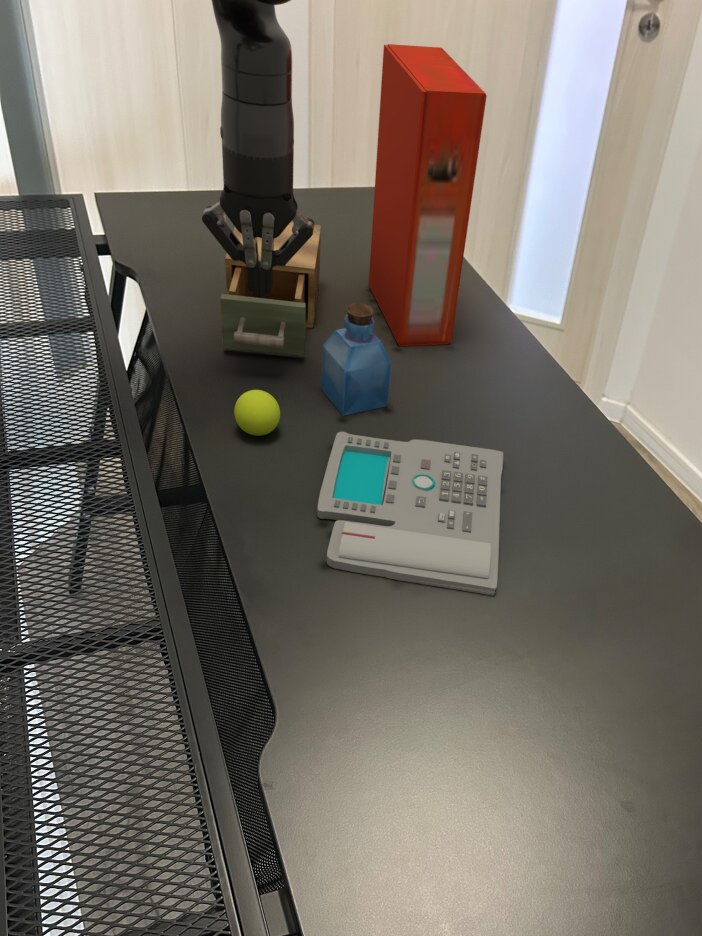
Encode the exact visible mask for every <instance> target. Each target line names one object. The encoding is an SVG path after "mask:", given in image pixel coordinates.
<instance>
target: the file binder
mask: <svg viewBox="0 0 702 936" xmlns="http://www.w3.org/2000/svg"><path fill="white" fill-rule="evenodd" d="M382 51H383V52H382V67H381V68H382V69H381V84H380V98H379V99H380V101H379V116H378V129H377V145H376V162H375V178H374V192H373V193H374V194H373V209H372V210H373V211H372V223H371V225H372V226H371V241H370V255H369V256H370V257H369V273H368V286H369V288H370V291H371V293H372V295H373V297H374V299H375V300H376V303H377V305H378V306H379V309H380V311H381V313H382V315H383V317H384V319H385V321H386V323H387V325H388V327H389V329H390V331H391V333H392V335H393V337H394V339H395V341H396V344H397V345H398V347H419V346H437V345H438V346H439V345H440V346H441V345H448V344H451V343H452V340H453V339H452V338H453V332H454V325H455V319H456V311H457V304H458V298H459V290H460V284H461V278H462V277H461V276H462V270H463V264H464V263H463V262H464V255H465V249H466V241H467V236H468V230H469V229H468V228H469V220H470V214H471V207H472V200H473V194H474V186H475V179H476V174H477V173H476V172H477V165H478V159H479V153H480V152H479V151H480V146H481V145H480V144H481V138H482V130H483V125H484V116H485V112H486V111H485V110H486V103H487V97H488V96H487V93H486V92H485V90H483V89H482V88H481V87H480V86H479V84H478V83H476V82H475V80H473V78H472V77H471V76H470V75H469V74H468V73H467V72H466V71H465V70H464V69H463V68H462V67H461V66H460V65H459V64H458V63H457V62H456V61H455V60H454V59H453V58H452V57H451V56H450V54H449V53H448V52H446V50H445V49H443V47H439V46H425V45H423V46H422V45H409V44H393V43H387V44H383V50H382Z"/></svg>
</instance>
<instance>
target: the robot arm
mask: <svg viewBox="0 0 702 936" xmlns="http://www.w3.org/2000/svg"><path fill="white" fill-rule="evenodd" d="M291 1H292V0H211V6H212V9H213V16H214V19H215V22H216V23H215V24H216V26H217V31H218V35H219V40H220V48H221V49H220V67H221V69H220V71H221V72H220V73H221V106H220V128H219V132H220V139H221V153H222V154H221V156H222V157H221V158H222V178H223V179H222V180H223V182H222V183H223V189H222V191H221V193H220V196H219V199H218V200H219V201H218V202H216V203H215V204H214V205H207V206H206V207H205V209H204V210H203V213H202V217H201V222H202V223H203V224H204V225H205V227H206V228H207V229H208V230H209V232H210V233H211V234H212V236H213V238H215V240H216V241H217V242H218V243H219V245H220V246H221V247H222V249H223V250H224V251H225V252H226V254H228V255H229V256H230V257H231V259H232V260H234V261H238V260H240V261H242V262H244V263H245V264H246V266H247V287H248V290H249V291H250V292H253V297H260V298H266V294H270V292H271V290H272V286H273V267H274V266H277V265H279V266H285V265H286V264H287V263H288V261H289V260H290V259H291V258H292V257H293V256H294V255H295V254H296V253H297V252H298V251H299V250H300V248H301V247H302V246H303V245H304V244H305V243H306V242H307V241H308V240H309V239H310V238H311V237H312V235H313V231H314V225H315V221H314V219H312V218H309V217H308V218H306V217H305V216H304V215H303V214H302V213H301V212H300V211H299V210H298V203H297V200H296V198H295V196H294V161H295V160H294V159H295V158H294V155H295V154H294V153H295V152H294V151H295V148H294V147H295V120H294V119H295V116H294V108H293V50H292V44H291V41H290V38H289V37H288V35H287V34H286V32H285V31H284V30H283V28H282V26H281V25H280V23H279V21H278V18H277V13H276V6H280V5H284V4H287V3H289V2H291ZM227 218H228V219H229V221H230V222H231V224H232V225H233V227H234V228H235V227H236V229H237V230H238V231H239V232H240V233H241V234H242V238H243V245H242V243H241V242H240V241H239V240H238V238H237V237H236V236H235V234H234V233H233V230H232V229H231V227H230V226H229V225H228V224H227V222H226V221H227ZM290 222H294V224H293V226H292V233H293V234H292V235H291V236H290V237H289V238H288V239H287V240H286V242H285V243H284V244H283V245H282V246H281V247H280V248H279V250H275V251H274V240H275V238H277V237H278V236H280V234H281V233H282V232H283V231H284V230H285V228H286V227H287V226H288V225H289V223H290ZM257 237H259V238H262V244H261V261H259V253H258V242H257Z"/></svg>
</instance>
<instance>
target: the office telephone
mask: <svg viewBox="0 0 702 936" xmlns="http://www.w3.org/2000/svg"><path fill="white" fill-rule="evenodd" d="M503 466H504V451H500V450H496V449H490V448H484V447H477V446H476V447H475V446H468V445H462V444H455V443H447V442H440V441H435V440H426V439H418V438H417V439H410V440H409V441H400V440H393V439H384V438H379V437H378V438H377V437H371V436H364V435H358V434H351V433H347V432H346V431H338V432H337V433H336V435H335V438H334V441H333V444H332V448H331V451H330V454H329V458H328V461H327V466H326V469H325V473H324V477H323V479H322V484H321V487H320V491H319V497H318V501H317V509H316V510H317V513H316V517H317V518H319V519H321V520H325V519H326V520H335V522H334V524H333V528H332V531H331V533H330V534H331V535H330V539H329V543H328V547H327V551H326V564H327V566H329V567H331V568H332V569H335V570H341V571H347V572H351V573H357V574H363V575H368V576H375V577H383V578H386V579H391V580H394V581H395V580H396V581H402V582H407V583H415V584H421V585H427V586H433V587H439V588H446V589H452V590H456V591H457V590H458V591H464V592H470V593H476V594H482V595H488V596H492V597H493V596H494V595H495V594H496V592H495V593H494V594H492V593H486V592H481V591H475V590H469V589H462V588H456V587H450V586H444V585H437V584H431V583H438V584H445V585H454V586H462V587H470V588H475V589H483V590H490V591H495V590H496V591H497V588H498V574H499V550H500V548H499V547H500V521H501V520H500V519H501V518H500V517H501V491H502V490H501V489H502V488H501V487H502V484H501V483H502V474H503ZM412 580H415V581H412ZM419 581H424V582H419ZM425 582H430V583H425Z"/></svg>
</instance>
